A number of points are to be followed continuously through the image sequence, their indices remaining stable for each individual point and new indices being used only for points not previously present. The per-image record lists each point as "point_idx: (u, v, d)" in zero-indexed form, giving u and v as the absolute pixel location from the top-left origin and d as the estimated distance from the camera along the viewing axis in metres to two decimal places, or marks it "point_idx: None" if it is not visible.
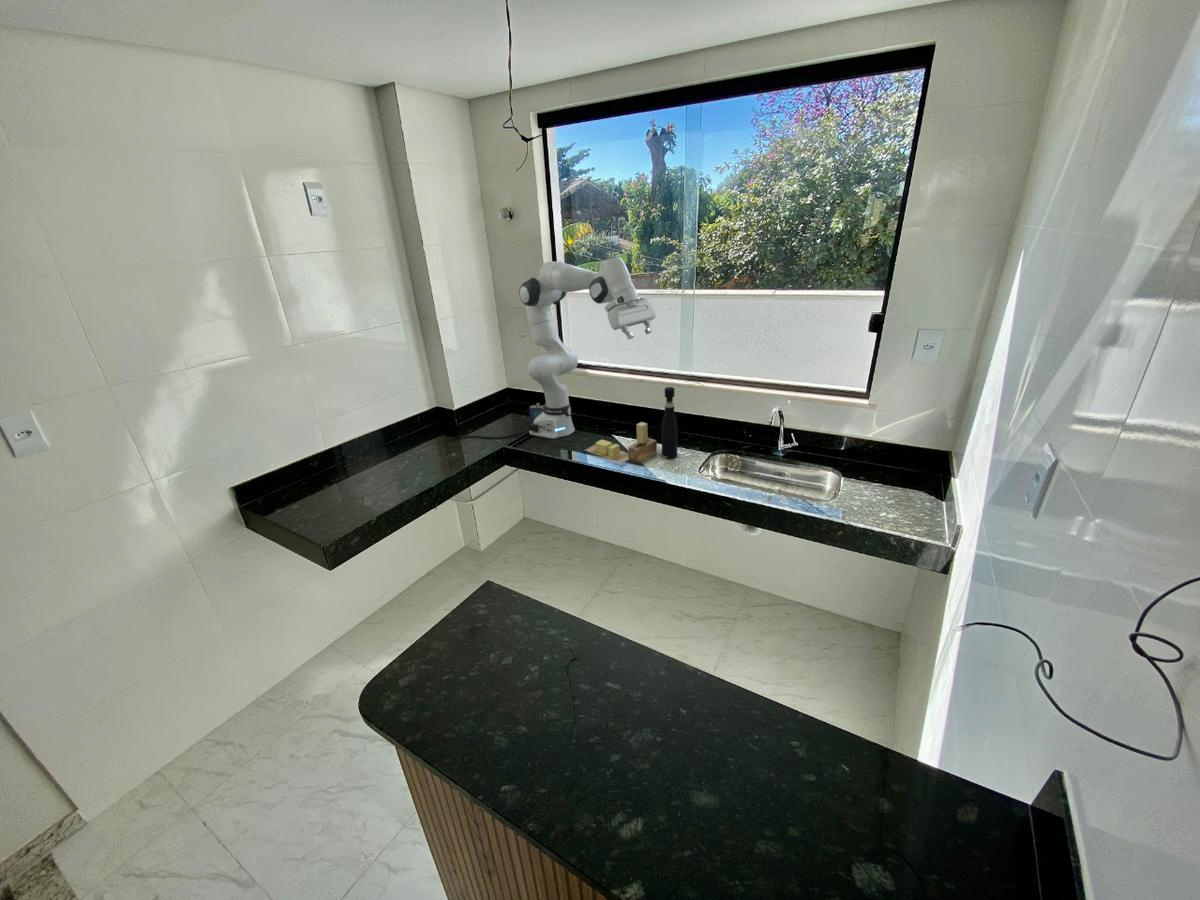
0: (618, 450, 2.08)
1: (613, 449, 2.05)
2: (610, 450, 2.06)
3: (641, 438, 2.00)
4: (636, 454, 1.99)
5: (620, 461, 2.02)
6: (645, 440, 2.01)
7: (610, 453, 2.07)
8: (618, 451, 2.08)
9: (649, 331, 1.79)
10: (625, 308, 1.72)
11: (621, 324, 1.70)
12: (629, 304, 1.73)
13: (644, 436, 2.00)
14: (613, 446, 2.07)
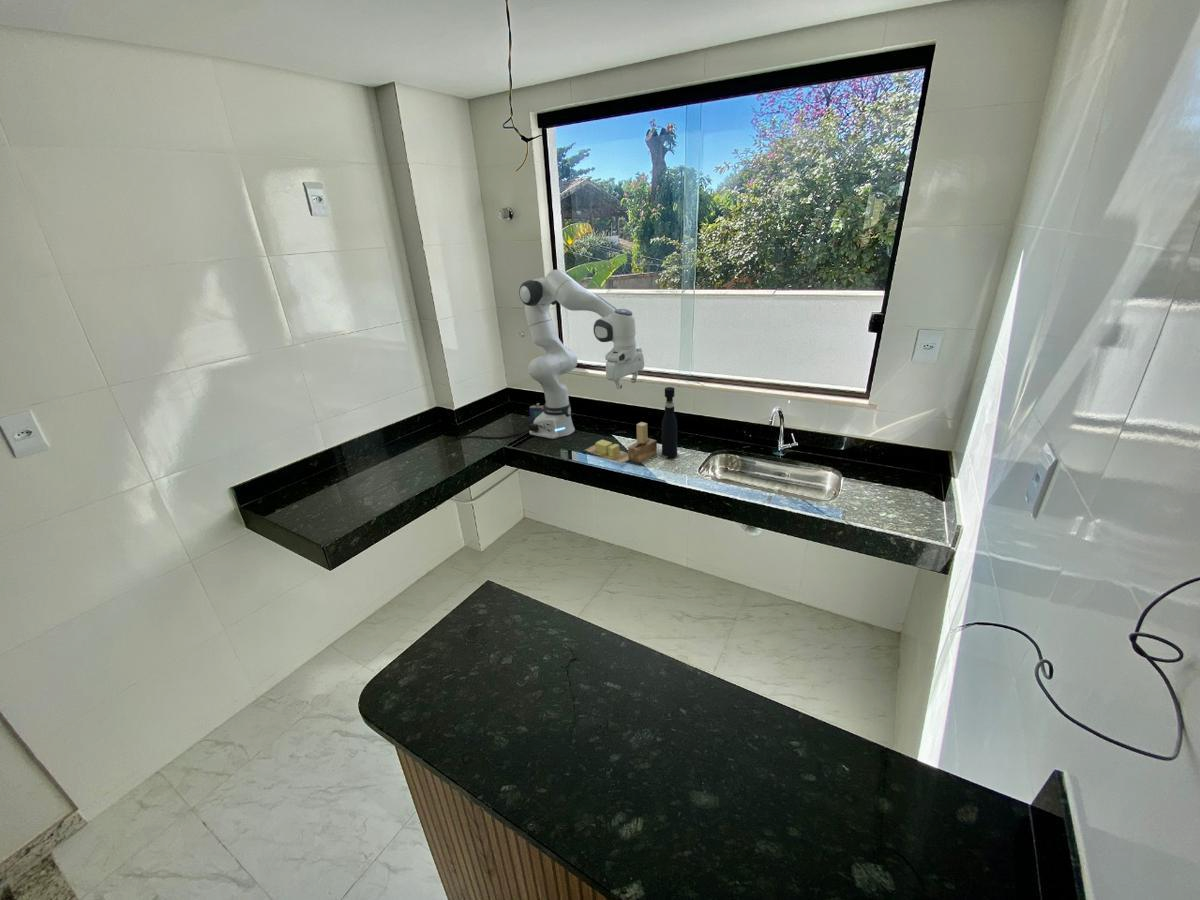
0: (618, 450, 2.08)
1: (613, 449, 2.05)
2: (610, 450, 2.06)
3: (641, 438, 2.00)
4: (636, 454, 1.99)
5: (620, 461, 2.02)
6: (645, 440, 2.01)
7: (610, 453, 2.07)
8: (618, 451, 2.08)
9: (635, 381, 1.99)
10: (623, 363, 1.89)
11: (615, 378, 1.88)
12: (627, 359, 1.90)
13: (644, 436, 2.00)
14: (613, 446, 2.07)
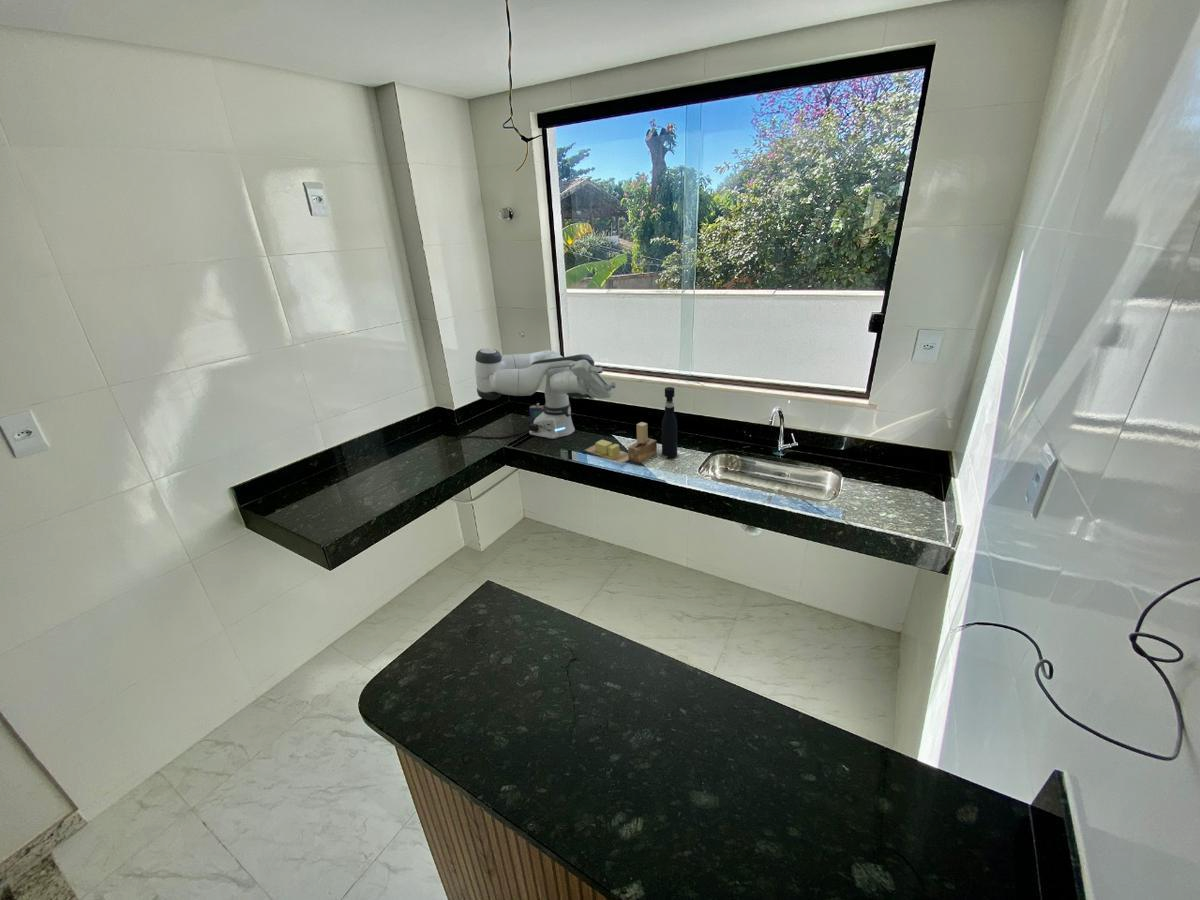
0: (618, 450, 2.08)
1: (613, 449, 2.05)
2: (610, 450, 2.06)
3: (641, 438, 2.00)
4: (636, 454, 1.99)
5: (620, 461, 2.02)
6: (645, 440, 2.01)
7: (610, 453, 2.07)
8: (618, 451, 2.08)
9: (600, 372, 1.79)
10: (591, 389, 1.91)
11: (608, 395, 1.90)
12: (586, 388, 1.90)
13: (644, 436, 2.00)
14: (613, 446, 2.07)
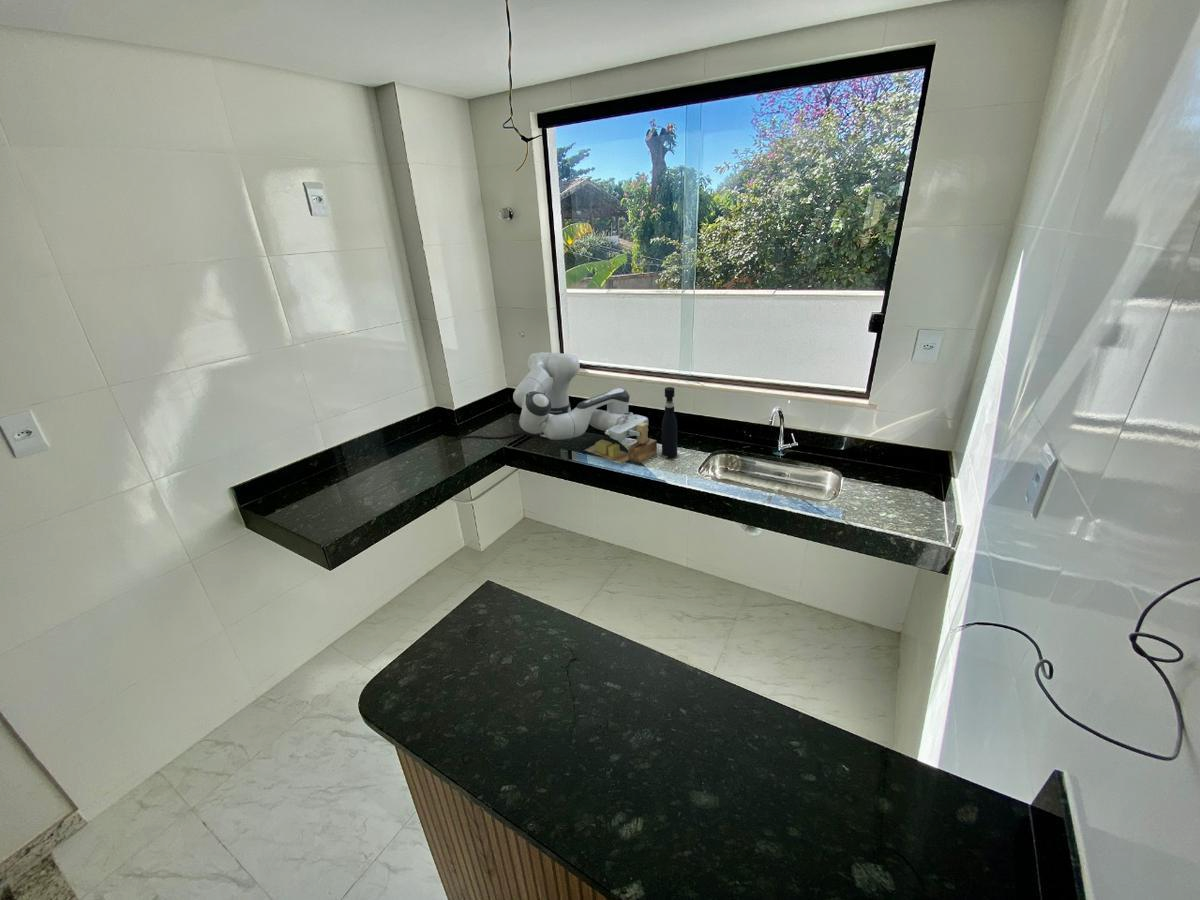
0: (618, 450, 2.08)
1: (613, 449, 2.05)
2: (610, 450, 2.06)
3: (641, 438, 2.00)
4: (636, 454, 1.99)
5: (620, 461, 2.02)
6: (645, 440, 2.01)
7: (610, 453, 2.07)
8: (618, 451, 2.08)
9: None
10: None
11: None
12: None
13: (644, 436, 2.00)
14: (613, 446, 2.07)
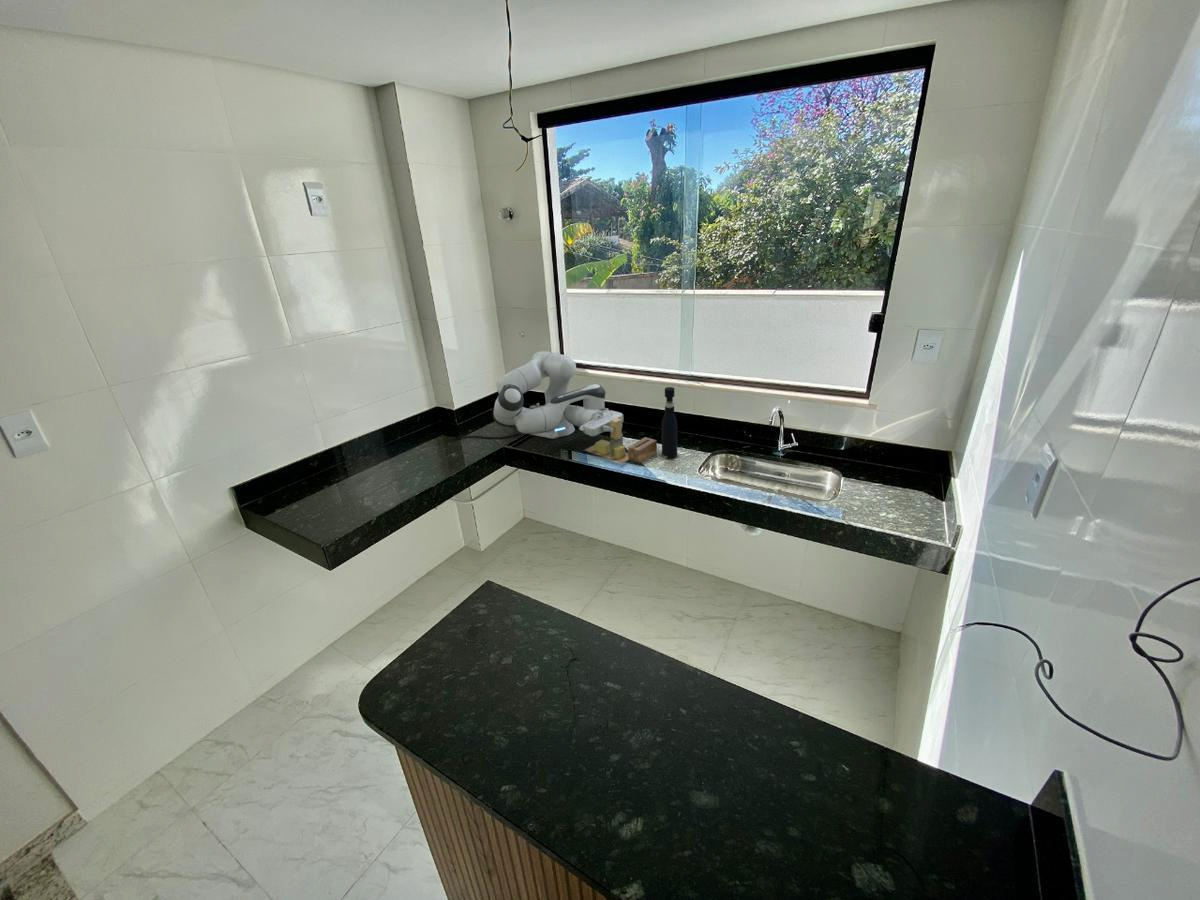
0: (623, 452, 2.06)
1: (619, 451, 2.04)
2: (616, 451, 2.04)
3: (615, 434, 2.01)
4: (636, 454, 1.99)
5: (620, 461, 2.02)
6: (619, 436, 2.02)
7: (615, 455, 2.05)
8: (623, 453, 2.07)
9: None
10: None
11: None
12: None
13: (618, 432, 2.01)
14: (619, 448, 2.05)
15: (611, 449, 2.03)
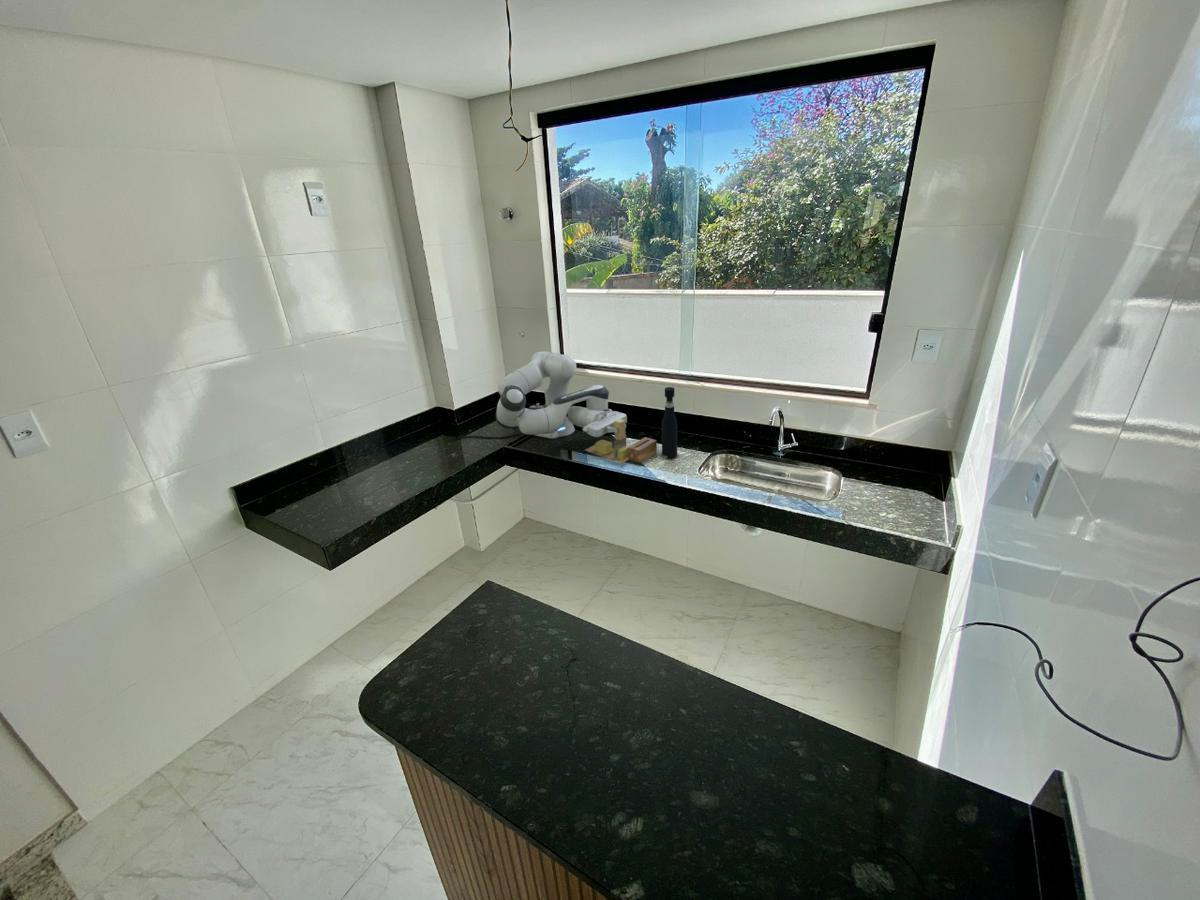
0: (627, 453, 2.05)
1: (622, 452, 2.02)
2: (619, 452, 2.03)
3: (618, 435, 2.00)
4: (636, 454, 1.99)
5: (620, 461, 2.02)
6: (622, 437, 2.01)
7: (619, 456, 2.04)
8: (627, 454, 2.05)
9: None
10: None
11: None
12: None
13: (622, 433, 2.00)
14: (622, 449, 2.04)
15: (615, 450, 2.02)
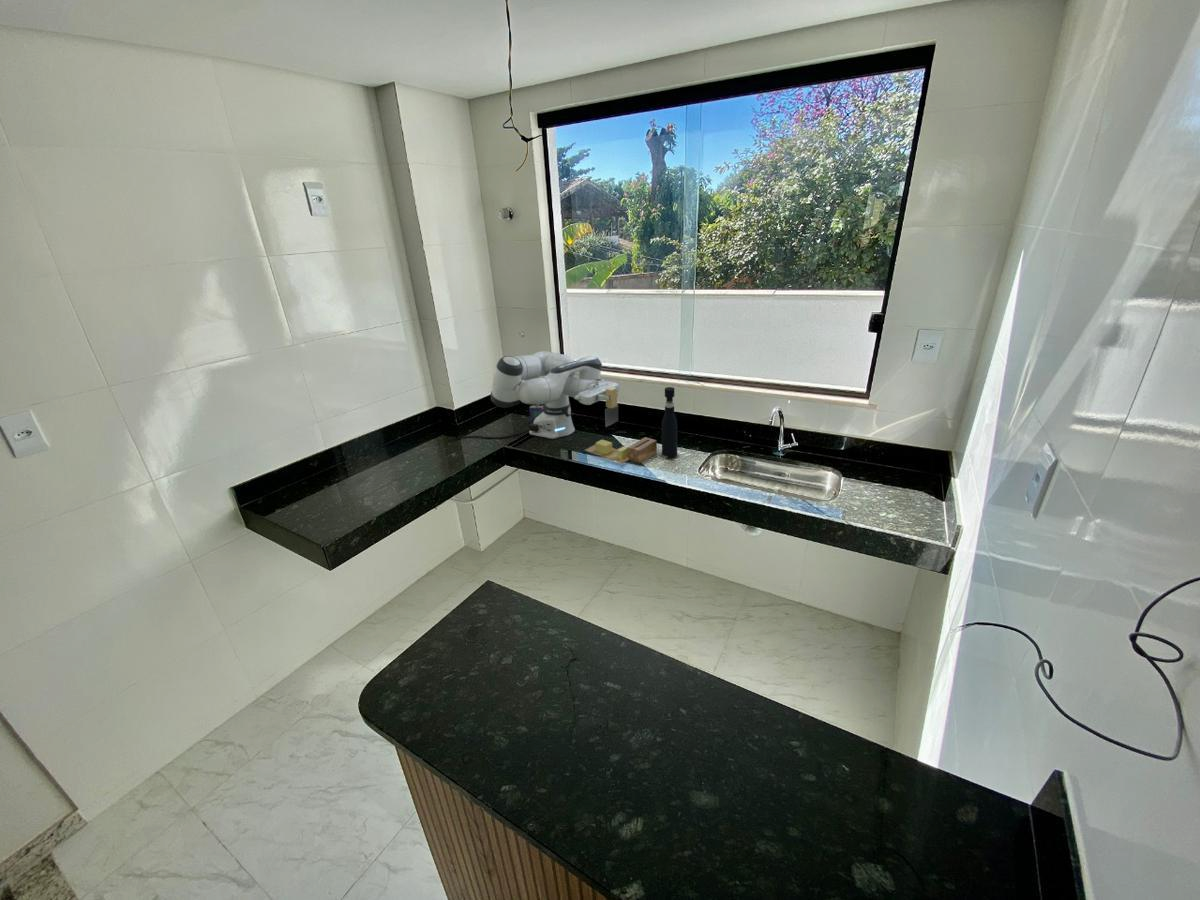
0: (627, 453, 2.05)
1: (622, 452, 2.02)
2: (619, 453, 2.03)
3: (610, 403, 1.99)
4: (636, 454, 1.99)
5: (620, 461, 2.02)
6: (614, 405, 2.00)
7: (619, 456, 2.04)
8: (627, 454, 2.05)
9: None
10: None
11: None
12: None
13: (613, 401, 1.99)
14: (622, 449, 2.04)
15: (606, 418, 2.01)
